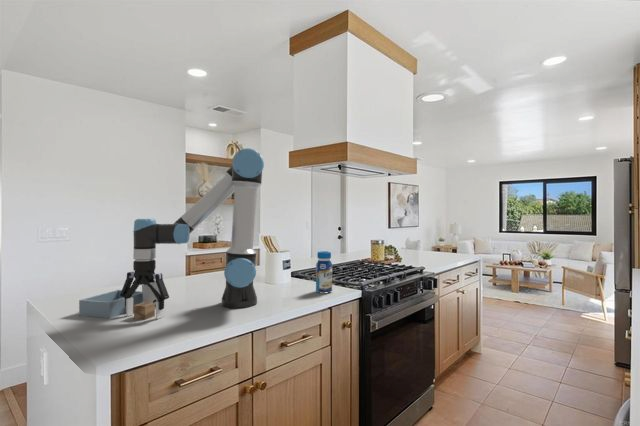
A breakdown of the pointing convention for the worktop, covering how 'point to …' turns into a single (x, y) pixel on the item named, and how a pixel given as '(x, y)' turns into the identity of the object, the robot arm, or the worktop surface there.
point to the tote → (107, 304)
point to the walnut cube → (144, 310)
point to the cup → (148, 295)
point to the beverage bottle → (324, 272)
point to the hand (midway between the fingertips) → (144, 316)
